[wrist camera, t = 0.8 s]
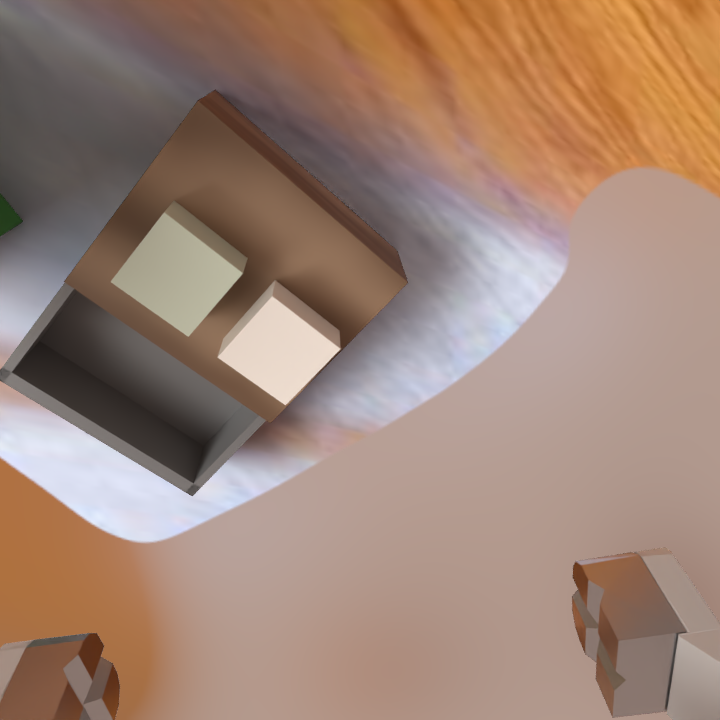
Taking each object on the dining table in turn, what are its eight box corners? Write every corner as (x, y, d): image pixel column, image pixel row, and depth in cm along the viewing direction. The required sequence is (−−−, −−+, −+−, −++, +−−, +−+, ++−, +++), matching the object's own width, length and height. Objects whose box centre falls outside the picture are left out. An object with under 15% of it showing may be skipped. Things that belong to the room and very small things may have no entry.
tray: (96, 249, 42) (70, 275, 37) (276, 378, 47) (271, 415, 42) (27, 342, 44) (-6, 377, 40) (203, 454, 50) (192, 496, 45)
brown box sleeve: (215, 89, 38) (198, 100, 32) (397, 250, 43) (407, 282, 38) (96, 249, 42) (63, 281, 36) (276, 378, 47) (270, 423, 42)
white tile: (275, 279, 37) (272, 296, 35) (339, 330, 39) (340, 349, 37) (223, 338, 39) (217, 357, 36) (287, 384, 40) (285, 405, 38)
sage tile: (174, 200, 35) (164, 212, 32) (247, 258, 36) (242, 273, 34) (123, 266, 36) (110, 281, 34) (196, 318, 38) (188, 336, 36)
